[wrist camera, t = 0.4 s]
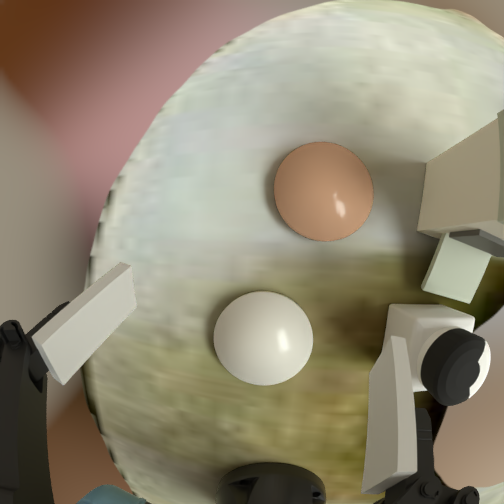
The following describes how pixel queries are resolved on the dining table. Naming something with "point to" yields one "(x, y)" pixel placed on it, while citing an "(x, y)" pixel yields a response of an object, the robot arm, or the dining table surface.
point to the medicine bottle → (440, 350)
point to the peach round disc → (323, 191)
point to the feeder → (464, 211)
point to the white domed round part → (263, 338)
